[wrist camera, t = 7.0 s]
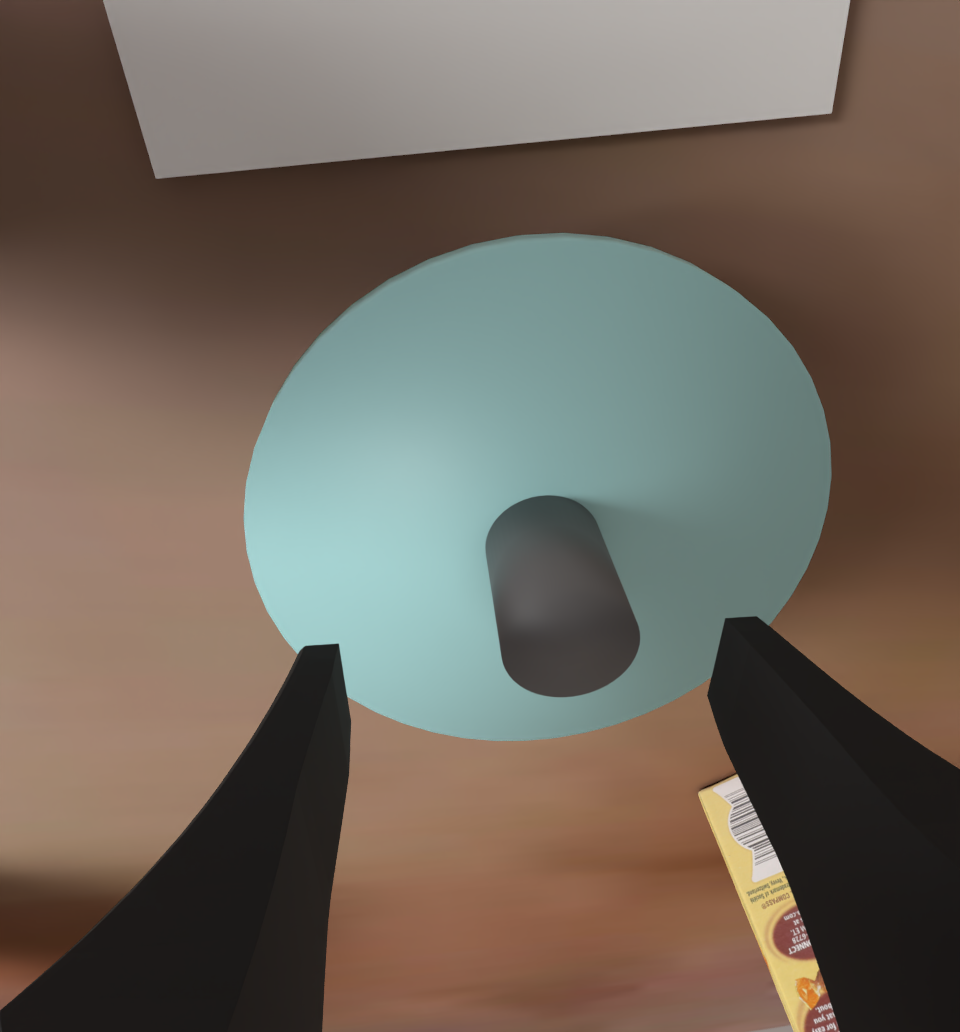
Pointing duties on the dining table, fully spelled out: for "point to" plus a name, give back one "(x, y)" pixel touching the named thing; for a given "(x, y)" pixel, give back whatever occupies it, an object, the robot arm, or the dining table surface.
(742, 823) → the candy box
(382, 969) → the dining table surface
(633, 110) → the mat
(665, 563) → the lid
